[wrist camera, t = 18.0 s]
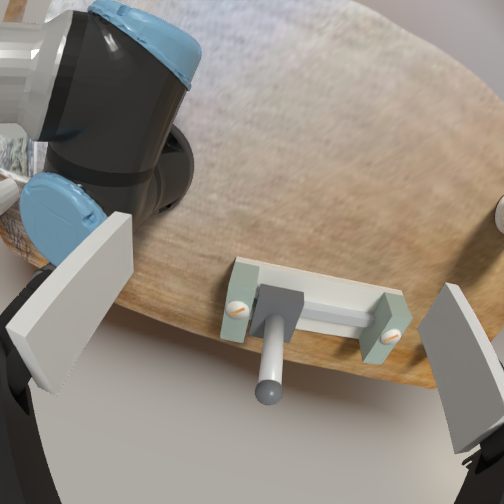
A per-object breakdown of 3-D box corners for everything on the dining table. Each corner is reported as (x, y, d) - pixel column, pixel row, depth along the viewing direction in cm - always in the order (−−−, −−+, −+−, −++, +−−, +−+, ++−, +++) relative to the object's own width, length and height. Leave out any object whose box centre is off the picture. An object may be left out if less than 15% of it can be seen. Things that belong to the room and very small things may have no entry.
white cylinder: (1, 196, 49) (-20, 210, 43) (3, 170, 46) (-19, 182, 40) (19, 210, 51) (-2, 225, 45) (22, 183, 47) (0, 197, 41)
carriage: (250, 322, 53) (235, 413, 37) (260, 283, 48) (246, 379, 33) (289, 330, 53) (285, 421, 37) (303, 292, 48) (305, 389, 33)
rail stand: (227, 309, 57) (219, 340, 50) (236, 256, 51) (228, 286, 44) (374, 335, 57) (381, 366, 50) (401, 290, 51) (413, 321, 44)
